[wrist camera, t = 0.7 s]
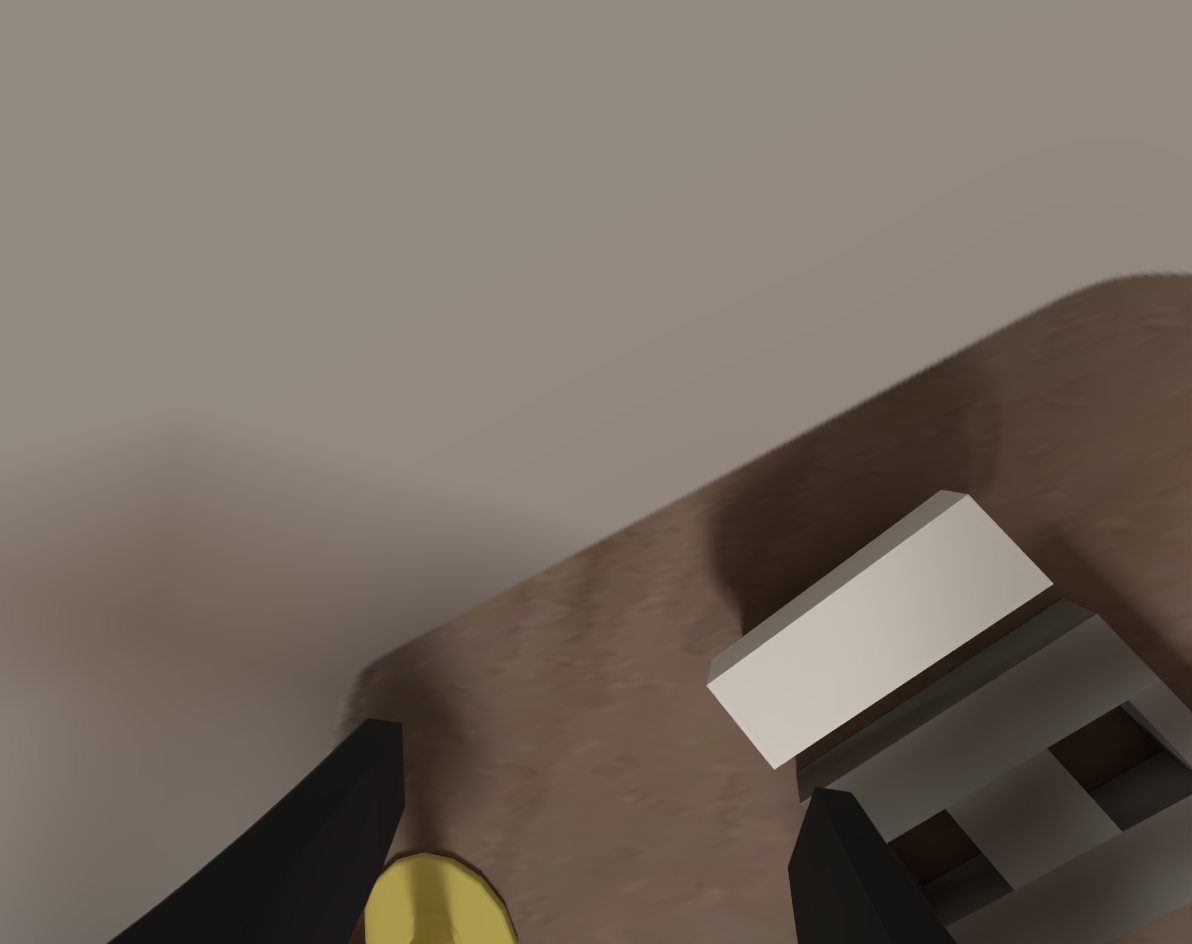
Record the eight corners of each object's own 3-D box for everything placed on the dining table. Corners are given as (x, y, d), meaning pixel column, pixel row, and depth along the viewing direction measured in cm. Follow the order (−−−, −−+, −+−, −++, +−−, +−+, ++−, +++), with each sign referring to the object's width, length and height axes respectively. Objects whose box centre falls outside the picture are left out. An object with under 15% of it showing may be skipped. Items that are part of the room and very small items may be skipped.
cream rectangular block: (989, 556, 25) (1053, 583, 19) (770, 709, 27) (774, 769, 22) (923, 486, 25) (968, 494, 20) (715, 642, 28) (706, 685, 23)
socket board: (1255, 799, 22) (1315, 840, 20) (948, 960, 25) (968, 1012, 23) (1062, 597, 24) (1097, 613, 21) (796, 772, 27) (800, 803, 25)
